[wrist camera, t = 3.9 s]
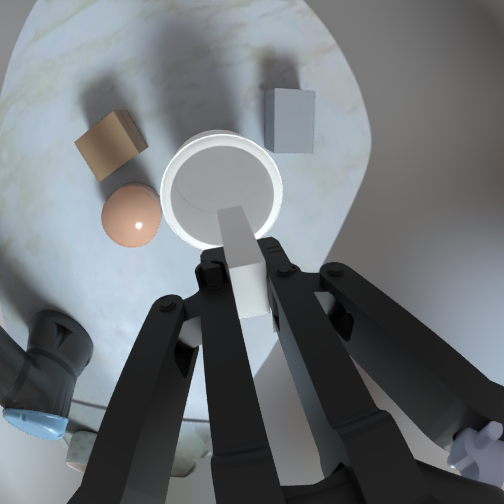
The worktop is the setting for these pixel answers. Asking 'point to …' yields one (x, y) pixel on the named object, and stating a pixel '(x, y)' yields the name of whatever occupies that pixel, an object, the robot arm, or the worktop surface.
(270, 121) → the slate block
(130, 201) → the glossy peach dome
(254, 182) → the jar
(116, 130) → the walnut block
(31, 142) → the worktop surface
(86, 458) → the planter
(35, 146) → the worktop surface
